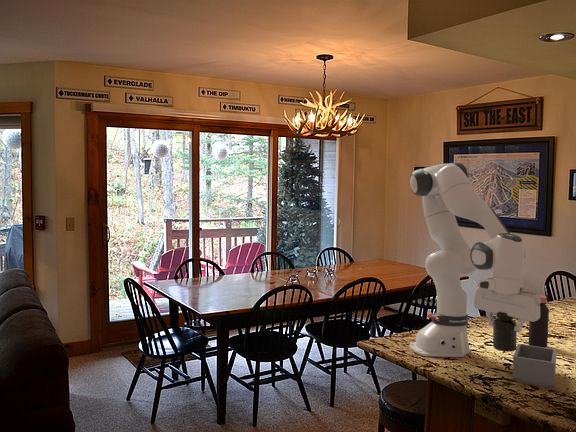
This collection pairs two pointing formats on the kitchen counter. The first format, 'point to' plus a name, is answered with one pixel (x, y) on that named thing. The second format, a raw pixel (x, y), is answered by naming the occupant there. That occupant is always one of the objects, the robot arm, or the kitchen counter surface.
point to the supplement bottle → (504, 333)
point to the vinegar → (540, 326)
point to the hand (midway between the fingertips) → (504, 328)
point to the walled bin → (534, 365)
